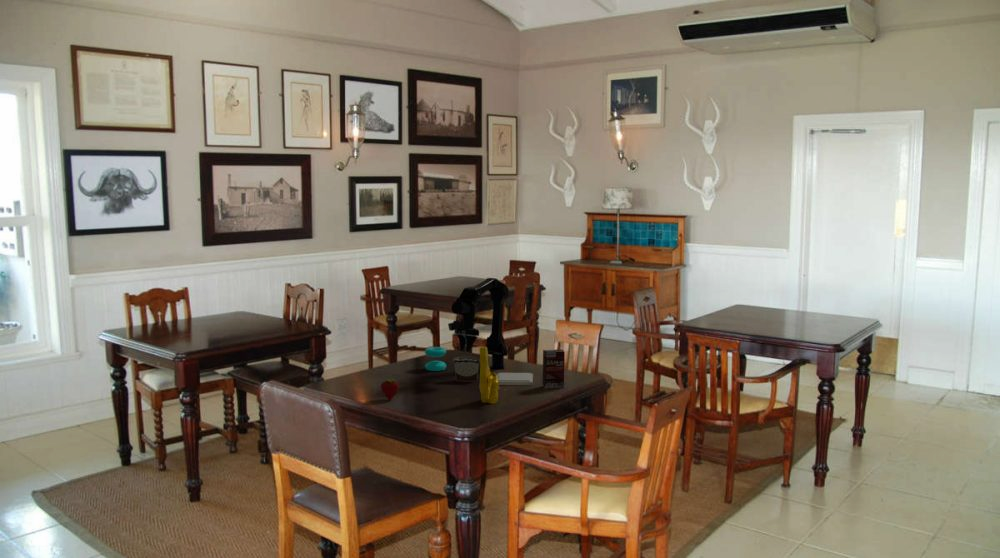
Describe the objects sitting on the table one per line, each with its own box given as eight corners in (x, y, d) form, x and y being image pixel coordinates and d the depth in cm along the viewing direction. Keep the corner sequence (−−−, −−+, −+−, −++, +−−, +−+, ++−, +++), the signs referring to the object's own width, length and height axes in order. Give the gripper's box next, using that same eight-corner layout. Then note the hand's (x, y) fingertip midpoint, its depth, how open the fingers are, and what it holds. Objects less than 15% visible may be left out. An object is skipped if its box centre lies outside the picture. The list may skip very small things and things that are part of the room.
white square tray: (497, 376, 357) (497, 372, 357) (533, 376, 356) (533, 372, 356) (495, 385, 341) (495, 380, 341) (532, 385, 341) (532, 380, 340)
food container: (482, 378, 353) (482, 356, 352) (480, 381, 347) (480, 359, 346) (454, 377, 355) (454, 356, 354) (452, 381, 349) (452, 358, 347)
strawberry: (385, 397, 322) (384, 373, 321) (401, 398, 319) (401, 374, 318) (378, 400, 316) (377, 376, 315) (395, 402, 314) (394, 377, 313)
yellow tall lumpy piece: (492, 408, 305) (492, 352, 303) (473, 407, 307) (473, 351, 305) (503, 396, 322) (503, 343, 320) (485, 395, 324) (485, 342, 322)
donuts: (443, 350, 365) (422, 350, 366) (443, 372, 366) (422, 371, 368) (448, 346, 375) (427, 346, 376) (448, 367, 376) (427, 366, 377)
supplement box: (545, 388, 335) (545, 352, 333) (542, 386, 340) (542, 349, 338) (564, 387, 337) (565, 351, 335) (561, 385, 341) (561, 348, 340)
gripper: (445, 314, 356) (441, 348, 355) (456, 313, 338) (452, 350, 337) (468, 317, 360) (464, 351, 358) (481, 316, 342) (477, 352, 341)
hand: (464, 351), depth 349 cm, fingers open, 9 cm apart
